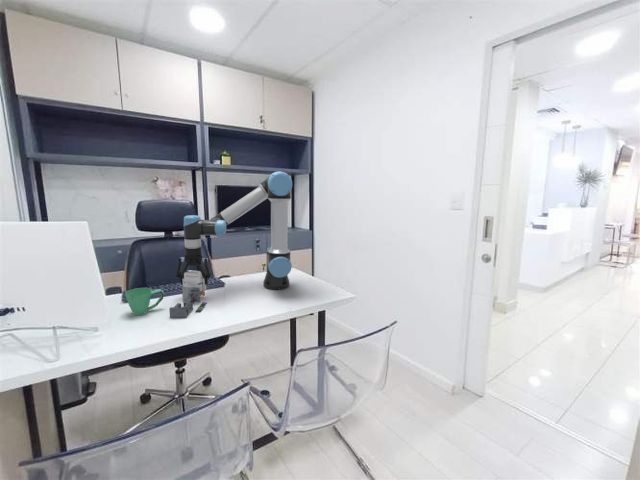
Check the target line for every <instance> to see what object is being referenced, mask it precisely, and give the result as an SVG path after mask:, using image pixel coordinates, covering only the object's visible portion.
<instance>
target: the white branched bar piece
mask: <svg viewBox="0 0 640 480" xmlns="http://www.w3.org/2000/svg"><path fill="white" fill-rule="evenodd" d="M181 290H182V291H181V292H182V302H183V307H186V306H187V305H188V304H189V303H193V304H194V303H196V302H197V303H199V302H201V300H202V299H201V296H200V294H203V295H202V297H204V296H206V291H205V292H200V287H183V286H182V288H181Z"/></svg>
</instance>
